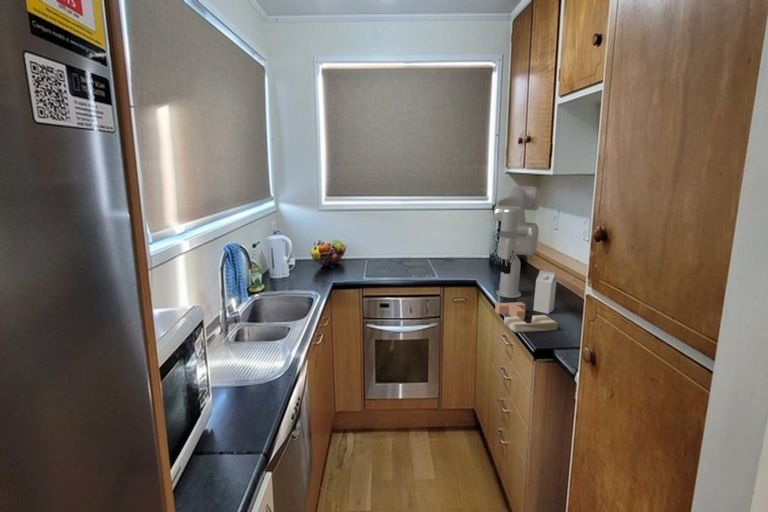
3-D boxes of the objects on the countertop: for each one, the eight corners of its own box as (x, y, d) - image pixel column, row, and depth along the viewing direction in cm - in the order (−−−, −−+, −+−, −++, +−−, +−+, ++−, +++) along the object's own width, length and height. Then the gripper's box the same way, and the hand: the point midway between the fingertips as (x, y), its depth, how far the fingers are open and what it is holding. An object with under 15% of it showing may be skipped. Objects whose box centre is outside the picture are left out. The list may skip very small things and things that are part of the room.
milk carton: (538, 307, 211) (542, 269, 207) (553, 310, 207) (557, 271, 203) (533, 310, 206) (536, 271, 202) (548, 314, 201) (552, 274, 197)
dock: (504, 323, 189) (504, 317, 188) (544, 321, 192) (544, 314, 191) (514, 332, 179) (515, 325, 178) (557, 329, 182) (557, 323, 182)
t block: (495, 311, 204) (495, 303, 203) (520, 310, 206) (521, 302, 206) (506, 320, 192) (507, 311, 192) (533, 319, 195) (534, 310, 194)
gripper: (493, 232, 210) (491, 269, 214) (508, 237, 195) (505, 277, 199) (508, 231, 211) (505, 268, 215) (524, 237, 196) (521, 277, 200)
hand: (505, 272), depth 207 cm, fingers closed
